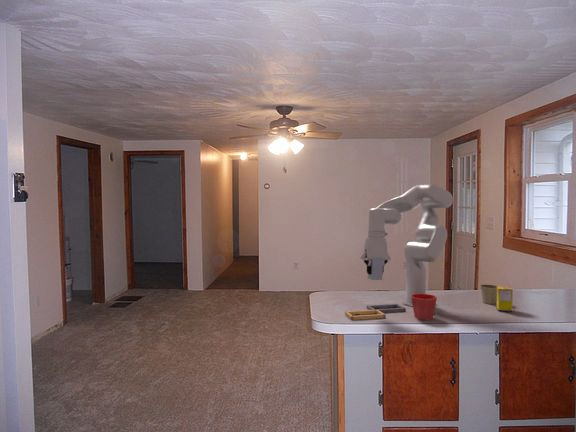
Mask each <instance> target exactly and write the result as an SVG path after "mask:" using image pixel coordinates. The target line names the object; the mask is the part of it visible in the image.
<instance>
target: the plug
mask: <svg viewBox="0 0 576 432" xmlns="http://www.w3.org/2000/svg"><path fill="white" fill-rule="evenodd" d="M371 266H372V270H371V275H369V274H367V279H369V280H370V281H371V280H372V281H383V275H384V272H383V258H372V262H371ZM382 274H383V275H382Z"/></svg>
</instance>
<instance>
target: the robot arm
mask: <svg viewBox="0 0 576 432" xmlns="http://www.w3.org/2000/svg"><path fill="white" fill-rule="evenodd" d="M453 202H454V197H453V195H452V193H451V192H450V191H448V190H447V189H444V188H442V187H440V186H439V185H436V184H434V183H433V184H432V183H429V184H425V183H424V184H417V185H414V186H412V187H411V188H410V189H408V190H407V191H406V192H405V193H403V194H401V195H399V196H397V197H394V198H392V199H390V200H389V199H388V200H387V201H384V202H382V203H381V204H380V205H378V206H377V207H375V208H374V207H372V208H370V209H369V210H368V231H367V237H366V238H365V242H364V248H363V254H362V255H361V256H360V257H359V258H360V260H361V261H363V263H364V264H365V265H366V273H367V275H368V274H369V275H371V270H372V266H371V262H372V258H383V274H382V276H383V275H384V269H385V266H386V264H387V263H388V262H389V261H391V259H392V258H391V256H390V254H388V241H387V238H385V237H386V236H388V232H386V225H391V226H392V225H396V224H399V222H401V219H402V214H401V213H406V212H409V211H412V210H413V209H414V208H415V207H417V206H418V205H419V204H420V206H421V210H422V216H421V219H420V221H419V223H418V226H417V228H416V230H415V232H414V238H415V240H417V241H414V240H413V241H409V242H407V243H406V244H405V246H404V249H403V252H404V259H405V299H402V303H403V304H404V305H406V306H409V307H410V306H411V307H413V305H412V299H411V295H413V294H426V287H427V285H426V283H427V281H426V278H427V277H426V274H427V271H426V265H425V263H435V262H437V261H438V259H439V258H440V255H441V253H442V251H443V249H444V247H445V244H446V242H447V240H448V231H447V228H446V227H445V226H444V225H441V224H439V222H440V216H439V213H438V212H437V210H436V209H447V208H450V207H451V206H452V205H453ZM424 262H425V263H424Z"/></svg>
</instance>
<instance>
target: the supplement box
mask: <svg viewBox="0 0 576 432" xmlns="http://www.w3.org/2000/svg"><path fill="white" fill-rule="evenodd" d="M496 286H497V302H496V309H497V311H498V312H501V313H502V312H505V313H513V300H514V299H513V298H514V297H513V293H514V292H513V288H511V287H510V286H499V285H496Z"/></svg>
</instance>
